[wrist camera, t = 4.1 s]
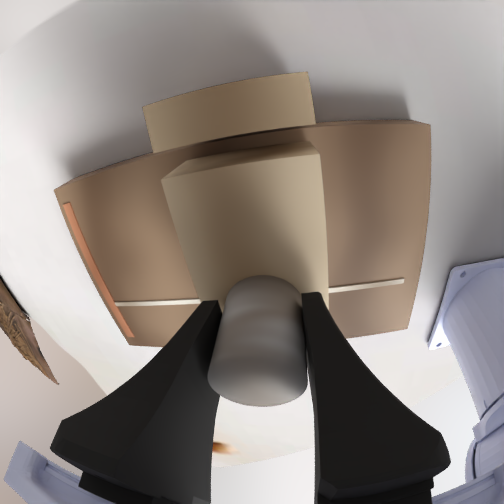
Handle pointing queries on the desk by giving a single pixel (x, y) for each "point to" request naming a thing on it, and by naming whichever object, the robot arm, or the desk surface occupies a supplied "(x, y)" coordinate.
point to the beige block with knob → (249, 228)
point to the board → (336, 212)
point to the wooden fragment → (21, 332)
